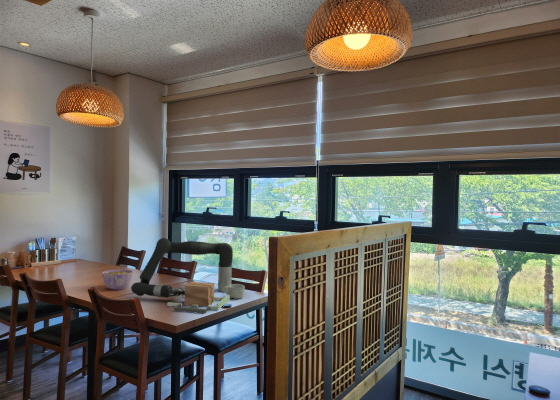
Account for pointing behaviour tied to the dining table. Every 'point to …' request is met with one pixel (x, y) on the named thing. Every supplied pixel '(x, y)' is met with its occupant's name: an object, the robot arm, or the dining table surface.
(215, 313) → the dining table surface
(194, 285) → the block
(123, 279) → the bowl of food
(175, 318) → the dining table surface
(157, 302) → the dining table surface
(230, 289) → the teacup
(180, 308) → the lane
